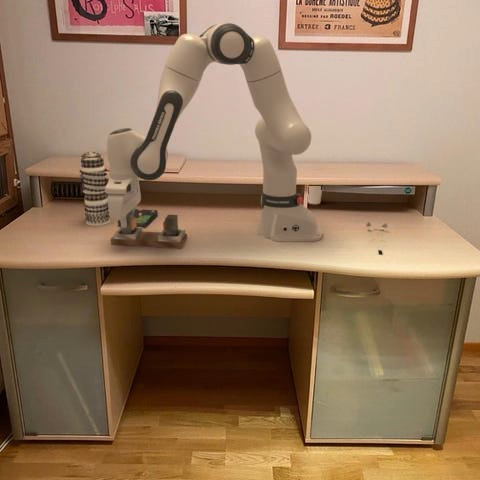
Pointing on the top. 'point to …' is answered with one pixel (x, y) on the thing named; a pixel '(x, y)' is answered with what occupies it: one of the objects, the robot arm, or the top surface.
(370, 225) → the diorama
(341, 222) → the top surface
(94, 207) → the decorative candle
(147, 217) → the disk drive
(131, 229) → the grey orange block
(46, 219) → the top surface
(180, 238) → the wooden holder stand
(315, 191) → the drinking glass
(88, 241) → the top surface
